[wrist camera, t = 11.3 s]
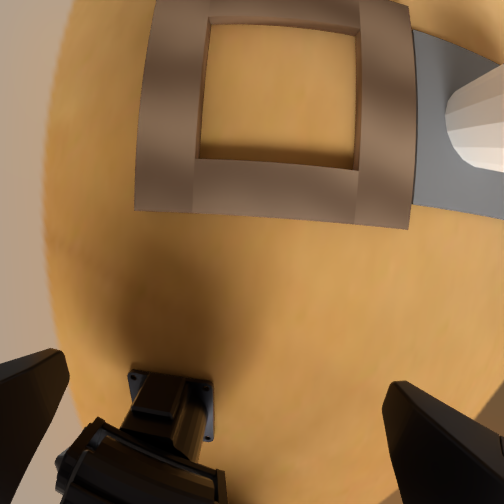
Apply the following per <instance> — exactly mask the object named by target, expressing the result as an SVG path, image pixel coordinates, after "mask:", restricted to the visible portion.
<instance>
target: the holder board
mask: <svg viewBox="0 0 504 504" xmlns="http://www.w3.org/2000/svg"><path fill="white" fill-rule="evenodd" d="M211 24H253V25H273V26H287V27H297V28H307V29H315V30H322V31H329V32H335V33H341V34H347V35H352V36H356V123H355V146H354V163H353V170H347V169H339V168H330V167H320V166H310V165H300V164H288V163H275V162H260V161H243V160H220V159H199V153H200V137H201V123H202V110H203V98H204V86H205V76H206V66H207V56H208V47H209V38H210V30H211ZM415 144H416V85H415V65H414V51H413V40H412V31H411V22H410V15H409V8H408V6H406V5H402V4H399V3H396V2H392V1H389V0H156V5H155V9H154V14H153V19H152V25H151V30H150V36H149V41H148V47H147V54H146V60H145V67H144V75H143V82H142V91H141V100H140V109H139V120H138V133H137V147H136V166H135V198H134V211H156V212H180V213H201V214H220V215H237V216H253V217H268V218H282V219H296V220H309V221H321V222H333V223H344V224H355V225H366V226H376V227H386V228H396V229H405V230H408V227H409V219H410V211H411V201H412V191H413V179H414V165H415Z"/></svg>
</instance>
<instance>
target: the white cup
mask: <svg viewBox="0 0 504 504" xmlns="http://www.w3.org/2000/svg"><path fill="white" fill-rule="evenodd" d="M445 120H446V128H447V133H448V135H449V138H450V140H451V143H452V145H453V148H454V149H455V150H456V151H457V153H458V154H459V155H460V157H461V158H462V159H463V160H464V161H466V162H467V163H469V164H471V165H472V166H474V167H478V168H484V169H489V170H494V171H499V172H504V64H502V65H500V66H498V67H497V68H495V69H493V70H491V71H489V72H488V73H486V74H484V75H482V76H481V77H479V78H477V79H475V80H474V81H472V82H470V83H468V84H467V85H465V86H463V87H462V88H460V89H458V90H456V91H455V92H454V93H453V95H452V96H451V97H450V99H449V100H448V102H447V107H446V112H445Z"/></svg>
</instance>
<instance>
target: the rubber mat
mask: <svg viewBox="0 0 504 504" xmlns="http://www.w3.org/2000/svg"><path fill="white" fill-rule="evenodd" d="M412 40H413V51H414V65H415V85H416V144H415V165H414V179H413V191H412V201H411V204H414V205H420V206H427V207H434V208H440V209H446V210H453V211H459V212H464V213H470V214H476V215H481V216H487V217H492V218H497V219H502V220H504V172H499V171H494V170H489V169H484V168H478V167H474V166H472V165H471V164H469V163H467V162H466V161H464V160H463V159H462V158H461V157H460V155H459V154H458V153H457V151H456V150H455V149H454V148H453V145H452V143H451V140H450V138H449V135H448V133H447V128H446V120H445V112H446V107H447V102H448V100H449V99H450V97H451V96H452V95H453V93H454V92H455V91H456V90H458V89H460V88H462V87H463V86H465V85H467V84H468V83H470V82H472V81H474V80H475V79H477V78H479V77H481V76H482V75H484V74H486V73H488V72H489V71H491V70H493V69H495V68H497V67H498V66H500V65H499V64H497V63H495V62H493V61H491V60H489V59H487V58H485V57H482V56H480V55H478V54H476V53H474V52H472V51H469V50H467V49H465V48H462V47H460V46H458V45H455V44H453V43H450V42H447V41H445V40H442V39H440V38H437V37H434V36H431V35H428V34H426V33H423V32H420V31H416V30H412Z"/></svg>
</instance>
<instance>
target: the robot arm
mask: <svg viewBox="0 0 504 504" xmlns="http://www.w3.org/2000/svg"><path fill="white" fill-rule="evenodd" d="M133 375H134V376H136V377H134V376H133ZM127 377H128V382H129V388H130V393H131V398H132V405H131V408H130V410H129V412H128V413H127V415H126V417H125V419H124V421H123V423H122V425H121V427H120V428H119V429H117V428H116V427H114V426H112V425H110V424H108V423H106V422H105V420H103V419H102V418H100V417H97V418H96V419H95V420H94V422H93V423H89V424H88V426H87V427H85V428H84V429H83V431H82V433H81V434H80V435H79V437H78V438H77V439H76V440H75V441H74V443H73V444H72V445H71V446H70V447H69V448H67V449H66V450H65V451H63V452H62V453H61V454H60V455H58V457H57V458H56V460H55V466H56V468H57V471H58V474H57V481H56V487H55V490H56V491H57V492H58V493H60V494H62V495H63V497H62V500H61V502H60V504H228V501H227V491H226V480H225V471H222V470H219V469H216V470H215V469H212V468H209V467H206V466H203V465H201V464H198V460H199V455H200V451H201V446H202V442H203V441H205V442H211V441H213V439H214V386H213V383H212V382H210V381H208V380H201V379H193V378H185V377H178V376H171V375H165V374H158V373H151V372H145V371H140V370H130V372H129V373H128V376H127ZM69 379H70V375H69V371H68V367H67V363H66V359H65V355H64V353H63V352H62V351H60V350H57V349H53V348H49V349H46V350H43V351H40V352H37V353H34V354H30V355H27V356H24V357H21V358H17V359H14V360H11V361H8V362H5V363H1V364H0V504H11V501H12V499H13V497H14V495H15V493H16V490H17V488H18V486H19V484H20V482H21V480H22V478H23V476H24V474H25V471H26V469H27V467H28V465H29V463H30V461H31V459H32V458H33V456H34V453H35V452H36V450H37V447H38V446H39V444H40V442H41V440H42V438H43V437H44V435H45V433H46V431H47V429H48V427H49V425H50V423H51V422H52V419H53V417H54V415H55V413H56V410H57V408H58V405H59V403H60V401H61V399H62V396H63V394H64V392H65V390H66V387H67V385H68V383H69ZM204 386H207V387H209V388H205V387H204ZM382 415H383V420H384V425H385V431H386V436H387V442H388V448H389V453H390V458H391V462H392V466H393V469H394V472H395V476H396V479H397V483H398V487H399V490H400V494H401V498H402V501H403V504H504V437H503V436H499V434H497V433H495V432H494V431H492V430H490V429H488V428H487V427H485V426H483V425H481V424H480V423H478V422H476V421H474V420H473V419H471V418H469V417H467V416H466V415H464V414H462V413H460V412H459V411H457V410H455V409H453V408H452V407H450V406H448V405H446V404H445V403H443V402H441V401H440V400H438V399H436V398H434V397H433V396H431V395H429V394H428V393H426V392H424V391H423V390H421V389H419V388H418V387H416V386H414V385H413V384H411V383H409V382H407V381H393V382H392V383H391V384H390V386H389V388H388V391H387V394H386V397H385V399H384V402H383V405H382ZM207 436H209V437H207Z"/></svg>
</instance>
